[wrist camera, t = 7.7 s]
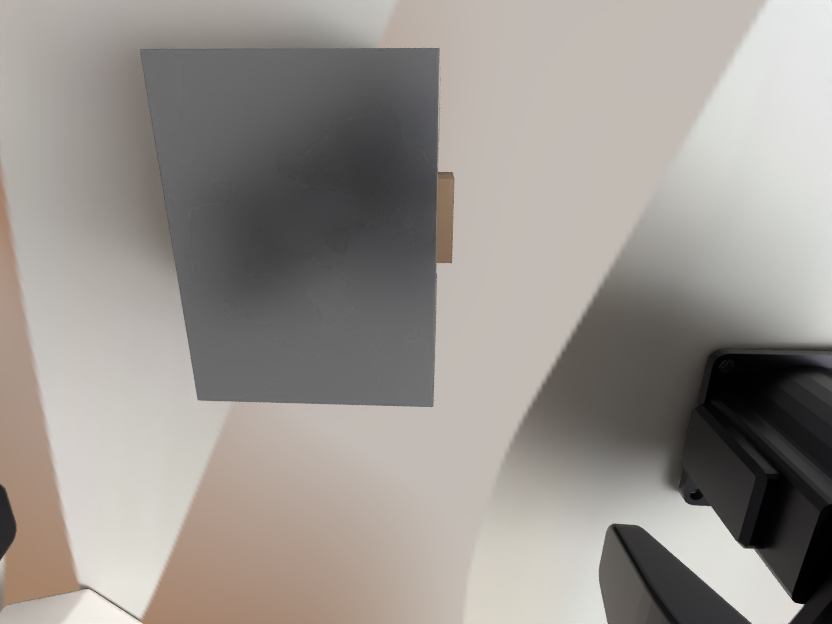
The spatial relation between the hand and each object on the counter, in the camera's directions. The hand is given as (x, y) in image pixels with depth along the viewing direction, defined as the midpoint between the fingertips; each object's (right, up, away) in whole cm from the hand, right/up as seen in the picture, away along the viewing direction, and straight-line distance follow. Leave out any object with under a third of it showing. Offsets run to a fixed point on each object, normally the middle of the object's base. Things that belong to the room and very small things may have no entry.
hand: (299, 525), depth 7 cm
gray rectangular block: (-1, +7, +10) cm, 12 cm away
